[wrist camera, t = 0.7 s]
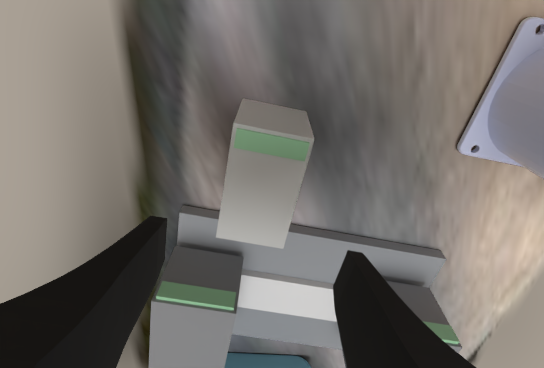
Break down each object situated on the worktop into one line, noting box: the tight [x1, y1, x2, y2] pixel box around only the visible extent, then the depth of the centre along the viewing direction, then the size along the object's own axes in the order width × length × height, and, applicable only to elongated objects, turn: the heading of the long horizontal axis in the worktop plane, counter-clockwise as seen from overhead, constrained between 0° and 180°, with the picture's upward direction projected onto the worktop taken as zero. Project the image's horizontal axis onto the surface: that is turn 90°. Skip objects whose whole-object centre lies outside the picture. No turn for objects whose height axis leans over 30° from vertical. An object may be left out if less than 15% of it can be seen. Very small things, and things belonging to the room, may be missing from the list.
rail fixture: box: [149, 205, 462, 368], centre depth 24 cm, size 20×12×7 cm, turn 78°
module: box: [216, 98, 314, 249], centre depth 19 cm, size 4×7×5 cm, turn 168°
